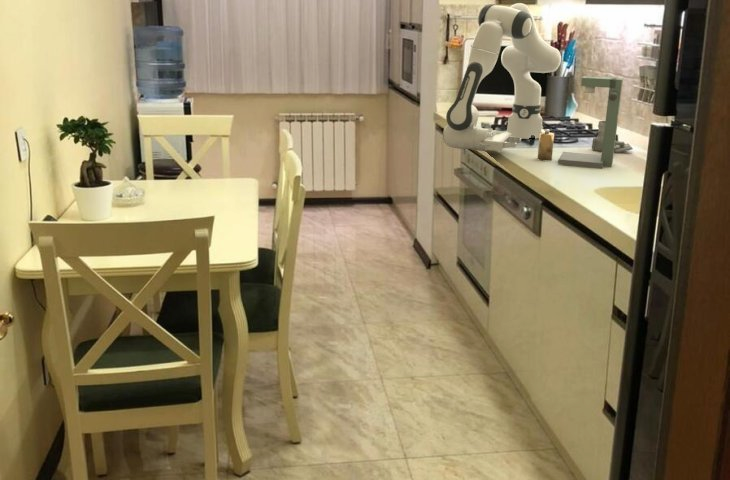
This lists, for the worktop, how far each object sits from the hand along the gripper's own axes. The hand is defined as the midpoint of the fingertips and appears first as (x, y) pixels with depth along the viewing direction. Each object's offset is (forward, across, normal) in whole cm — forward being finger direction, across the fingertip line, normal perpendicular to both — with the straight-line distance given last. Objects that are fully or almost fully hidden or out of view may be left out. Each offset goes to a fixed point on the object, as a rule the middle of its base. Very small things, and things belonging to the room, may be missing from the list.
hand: (518, 142), depth 292 cm
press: (+26, -3, +5) cm, 27 cm away
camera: (+33, +26, +6) cm, 43 cm away
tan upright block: (+10, 0, +6) cm, 12 cm away
